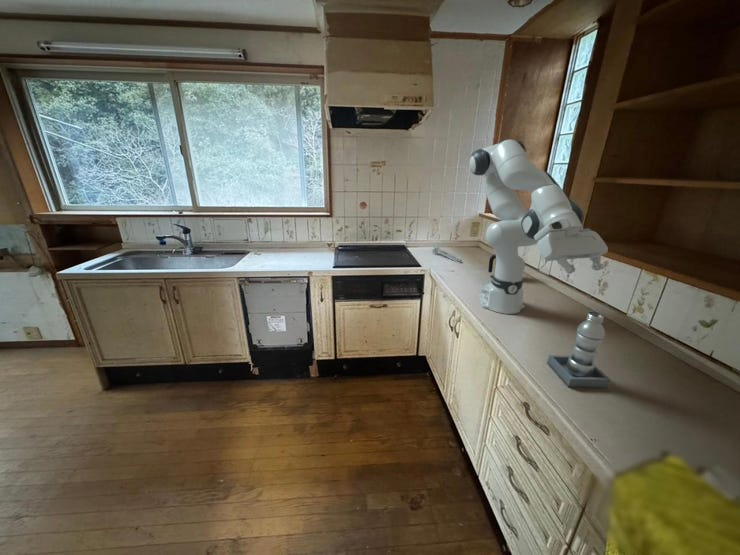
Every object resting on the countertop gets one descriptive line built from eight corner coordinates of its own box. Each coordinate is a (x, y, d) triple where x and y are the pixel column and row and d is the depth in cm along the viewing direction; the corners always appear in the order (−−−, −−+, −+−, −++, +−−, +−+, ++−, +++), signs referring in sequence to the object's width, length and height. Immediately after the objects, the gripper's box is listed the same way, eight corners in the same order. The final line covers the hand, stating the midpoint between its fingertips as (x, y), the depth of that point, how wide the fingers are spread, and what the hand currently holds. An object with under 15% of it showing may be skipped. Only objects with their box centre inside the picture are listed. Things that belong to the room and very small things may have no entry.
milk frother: (510, 276, 170) (514, 251, 164) (519, 286, 155) (524, 259, 150) (484, 275, 171) (488, 250, 166) (491, 284, 157) (496, 258, 151)
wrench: (458, 267, 194) (428, 251, 216) (460, 267, 195) (430, 251, 217) (461, 256, 190) (430, 241, 213) (463, 255, 191) (432, 241, 214)
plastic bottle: (580, 366, 91) (598, 308, 84) (596, 381, 85) (617, 320, 78) (560, 366, 91) (576, 308, 84) (574, 381, 85) (593, 320, 78)
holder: (546, 363, 93) (549, 355, 92) (582, 363, 93) (584, 355, 92) (568, 387, 83) (570, 378, 82) (607, 388, 83) (610, 379, 82)
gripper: (583, 234, 93) (604, 272, 88) (528, 237, 89) (547, 278, 83) (600, 222, 87) (624, 263, 82) (543, 225, 83) (564, 268, 77)
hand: (585, 270), depth 83 cm, fingers open, 8 cm apart
